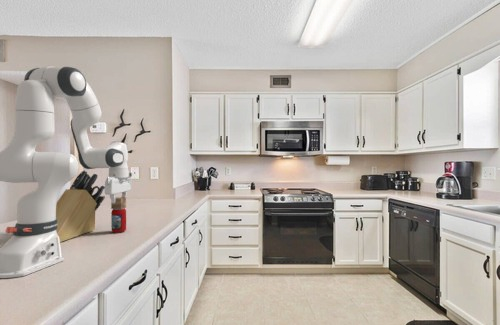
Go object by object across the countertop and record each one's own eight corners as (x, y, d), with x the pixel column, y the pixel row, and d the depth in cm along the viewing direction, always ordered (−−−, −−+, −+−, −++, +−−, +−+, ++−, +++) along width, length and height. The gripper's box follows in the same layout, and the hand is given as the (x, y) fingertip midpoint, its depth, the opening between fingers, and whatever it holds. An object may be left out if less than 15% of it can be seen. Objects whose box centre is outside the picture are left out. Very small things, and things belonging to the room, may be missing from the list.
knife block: (107, 226, 155) (107, 169, 155) (55, 245, 120) (55, 172, 120) (88, 225, 156) (88, 169, 156) (32, 244, 122) (31, 172, 121)
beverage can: (108, 232, 141) (108, 208, 141) (120, 229, 147) (120, 206, 147) (117, 234, 138) (117, 209, 138) (129, 231, 144) (129, 207, 144)
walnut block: (121, 208, 140) (121, 198, 140) (111, 208, 140) (111, 198, 140) (126, 207, 145) (126, 197, 145) (116, 207, 145) (116, 197, 145)
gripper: (113, 175, 132) (114, 204, 132) (133, 173, 152) (133, 199, 152) (100, 175, 132) (100, 204, 132) (122, 173, 153) (122, 199, 153)
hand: (118, 201), depth 143 cm, fingers open, 8 cm apart
